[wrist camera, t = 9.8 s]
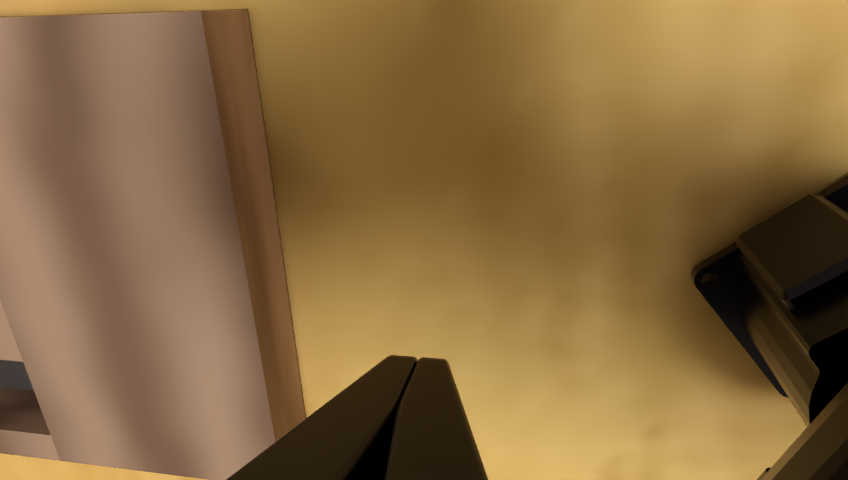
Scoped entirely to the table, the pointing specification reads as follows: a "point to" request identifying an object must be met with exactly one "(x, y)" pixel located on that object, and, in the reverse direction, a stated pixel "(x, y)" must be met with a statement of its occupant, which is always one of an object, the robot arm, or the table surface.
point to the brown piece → (140, 246)
